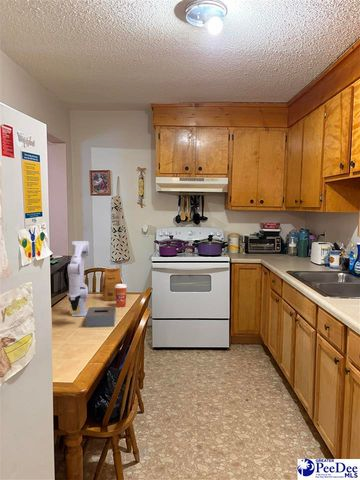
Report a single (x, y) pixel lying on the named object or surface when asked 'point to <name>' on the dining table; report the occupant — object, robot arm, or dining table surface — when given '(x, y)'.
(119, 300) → the paper cup
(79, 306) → the block
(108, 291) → the coffee package
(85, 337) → the dining table surface
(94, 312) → the coin box
